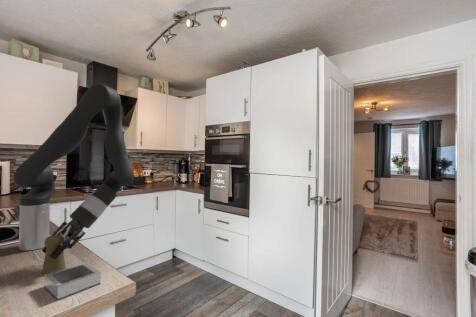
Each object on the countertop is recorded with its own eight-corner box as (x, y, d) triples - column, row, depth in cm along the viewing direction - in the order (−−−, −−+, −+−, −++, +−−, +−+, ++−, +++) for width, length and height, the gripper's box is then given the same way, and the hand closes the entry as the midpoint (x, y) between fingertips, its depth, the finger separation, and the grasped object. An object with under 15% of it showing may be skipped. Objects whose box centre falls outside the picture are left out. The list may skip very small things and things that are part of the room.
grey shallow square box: (44, 286, 67) (44, 274, 67) (85, 272, 76) (85, 262, 76) (57, 300, 61) (57, 287, 61) (100, 283, 70) (100, 272, 70)
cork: (62, 264, 82) (63, 231, 82) (68, 269, 78) (68, 235, 78) (39, 270, 77) (40, 235, 77) (44, 276, 73) (45, 240, 73)
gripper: (72, 202, 87) (30, 243, 78) (90, 208, 79) (45, 255, 69) (88, 214, 92) (50, 255, 82) (106, 220, 83) (66, 267, 74)
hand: (48, 255), depth 76 cm, fingers open, 6 cm apart
